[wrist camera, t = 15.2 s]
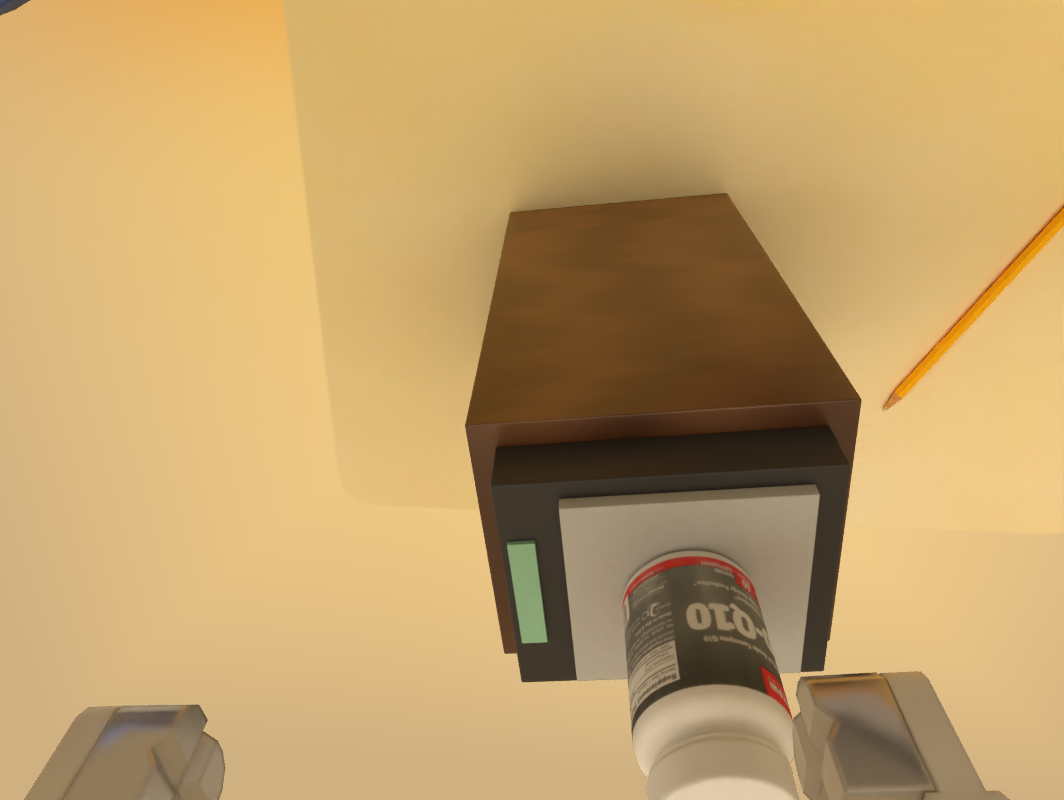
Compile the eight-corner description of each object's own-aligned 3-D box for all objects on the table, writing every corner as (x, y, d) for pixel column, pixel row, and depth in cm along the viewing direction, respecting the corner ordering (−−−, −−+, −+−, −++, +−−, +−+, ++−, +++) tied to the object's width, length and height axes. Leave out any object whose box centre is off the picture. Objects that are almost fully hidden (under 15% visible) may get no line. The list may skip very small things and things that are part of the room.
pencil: (1096, 184, 48) (1102, 187, 47) (884, 412, 57) (888, 417, 56) (1087, 178, 48) (1093, 180, 47) (876, 407, 57) (879, 412, 56)
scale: (524, 637, 33) (520, 695, 31) (495, 446, 28) (488, 496, 26) (807, 625, 32) (828, 684, 30) (829, 425, 27) (857, 475, 25)
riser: (528, 372, 56) (504, 654, 34) (509, 212, 50) (464, 425, 28) (722, 359, 55) (829, 641, 33) (727, 192, 49) (862, 399, 27)
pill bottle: (781, 582, 27) (860, 811, 20) (699, 659, 29) (742, 891, 22) (673, 525, 26) (714, 746, 19) (595, 609, 28) (605, 837, 21)
